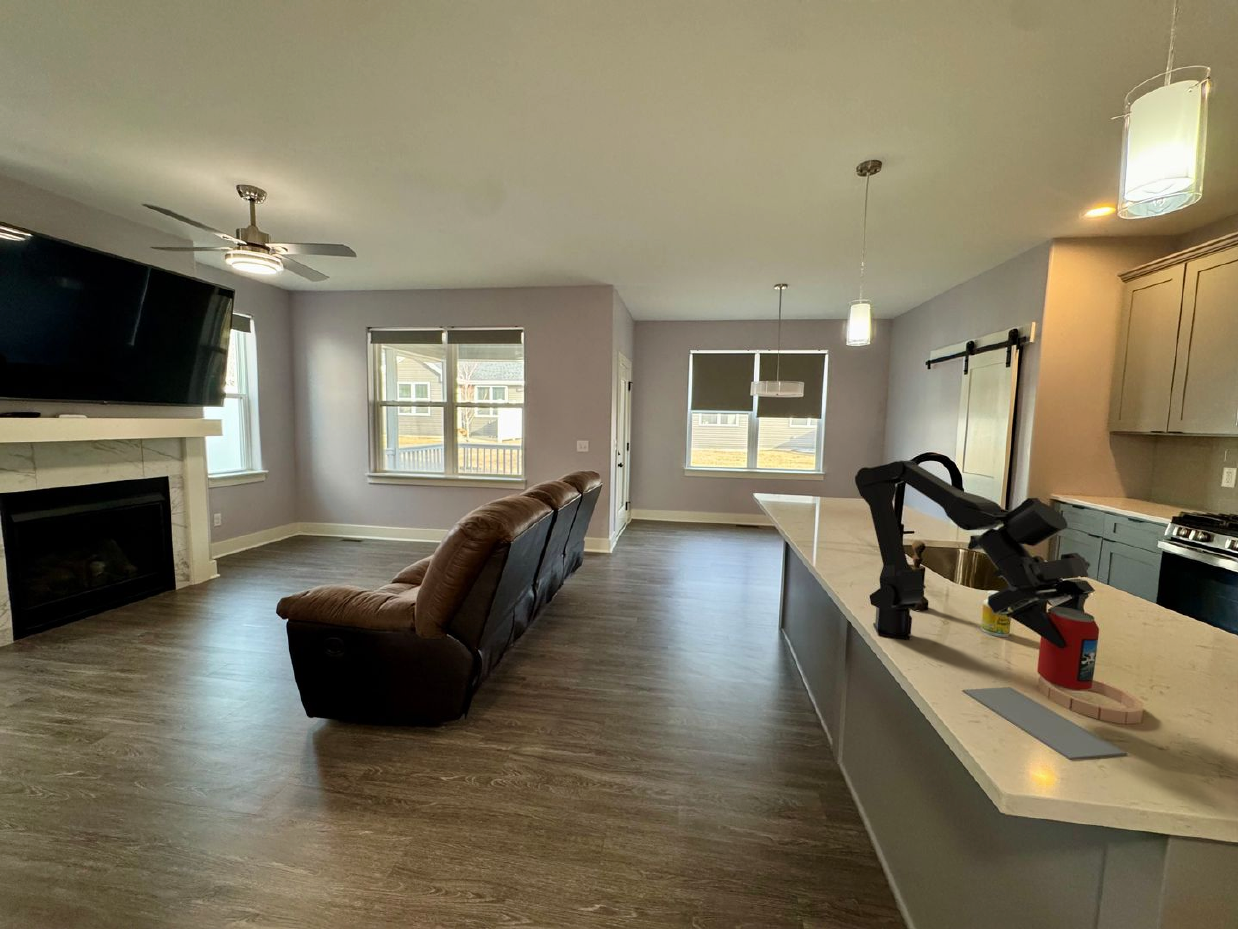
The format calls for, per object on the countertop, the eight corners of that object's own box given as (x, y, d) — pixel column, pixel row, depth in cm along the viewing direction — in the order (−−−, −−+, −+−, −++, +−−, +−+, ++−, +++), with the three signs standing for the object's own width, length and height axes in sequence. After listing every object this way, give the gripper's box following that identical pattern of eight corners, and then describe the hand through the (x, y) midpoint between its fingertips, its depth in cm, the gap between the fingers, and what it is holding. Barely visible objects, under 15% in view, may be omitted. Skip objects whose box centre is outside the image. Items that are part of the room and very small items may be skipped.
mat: (962, 691, 87) (962, 689, 87) (1010, 688, 88) (1010, 687, 88) (1069, 759, 69) (1069, 757, 69) (1126, 754, 71) (1127, 752, 71)
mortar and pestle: (894, 602, 133) (899, 537, 131) (916, 602, 133) (921, 538, 132) (910, 611, 126) (916, 543, 125) (934, 611, 127) (939, 544, 125)
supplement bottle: (992, 627, 117) (996, 588, 116) (1015, 636, 112) (1019, 596, 111) (974, 628, 116) (978, 589, 115) (996, 638, 111) (1000, 597, 110)
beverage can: (1098, 699, 75) (1107, 624, 74) (1042, 686, 79) (1050, 615, 78) (1083, 679, 81) (1092, 610, 80) (1031, 668, 84) (1039, 602, 83)
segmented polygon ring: (1063, 713, 81) (1064, 702, 81) (1025, 676, 93) (1026, 666, 93) (1163, 730, 77) (1165, 718, 77) (1109, 689, 89) (1110, 679, 89)
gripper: (1014, 538, 79) (1089, 632, 69) (1087, 534, 84) (1165, 620, 75) (961, 570, 87) (1022, 658, 77) (1031, 564, 93) (1096, 645, 83)
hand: (1078, 645), depth 78 cm, fingers closed on beverage can, 7 cm apart
